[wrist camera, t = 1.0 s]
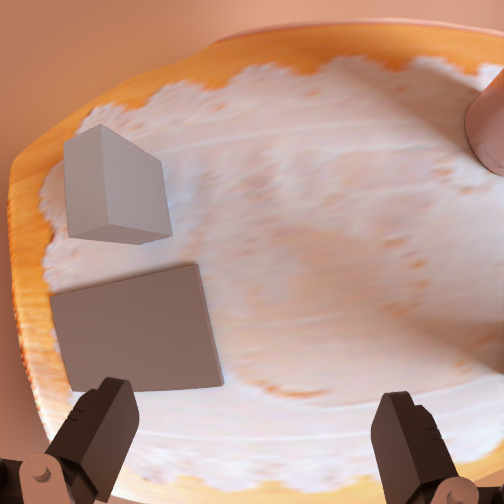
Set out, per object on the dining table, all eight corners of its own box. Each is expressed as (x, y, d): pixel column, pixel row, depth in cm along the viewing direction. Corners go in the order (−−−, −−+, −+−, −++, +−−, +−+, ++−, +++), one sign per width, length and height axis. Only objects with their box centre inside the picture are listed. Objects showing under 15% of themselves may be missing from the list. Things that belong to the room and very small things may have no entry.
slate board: (197, 264, 31) (194, 264, 30) (224, 383, 30) (222, 386, 29) (53, 296, 34) (49, 296, 34) (76, 389, 34) (72, 391, 33)
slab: (128, 173, 33) (62, 143, 22) (161, 161, 32) (101, 123, 21) (137, 245, 32) (67, 238, 22) (172, 235, 32) (109, 223, 21)
